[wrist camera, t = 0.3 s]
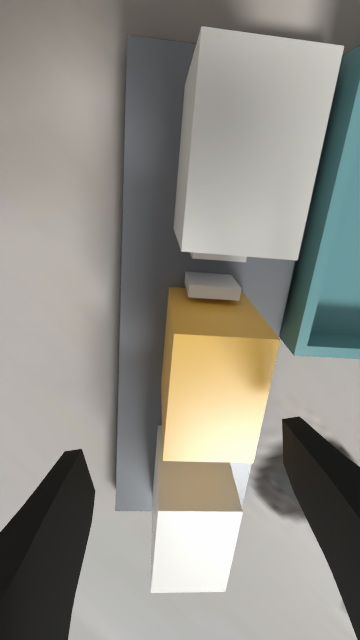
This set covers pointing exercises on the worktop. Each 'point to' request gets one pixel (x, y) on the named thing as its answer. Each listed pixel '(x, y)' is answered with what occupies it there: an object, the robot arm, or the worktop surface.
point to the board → (165, 262)
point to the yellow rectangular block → (214, 378)
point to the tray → (331, 237)
